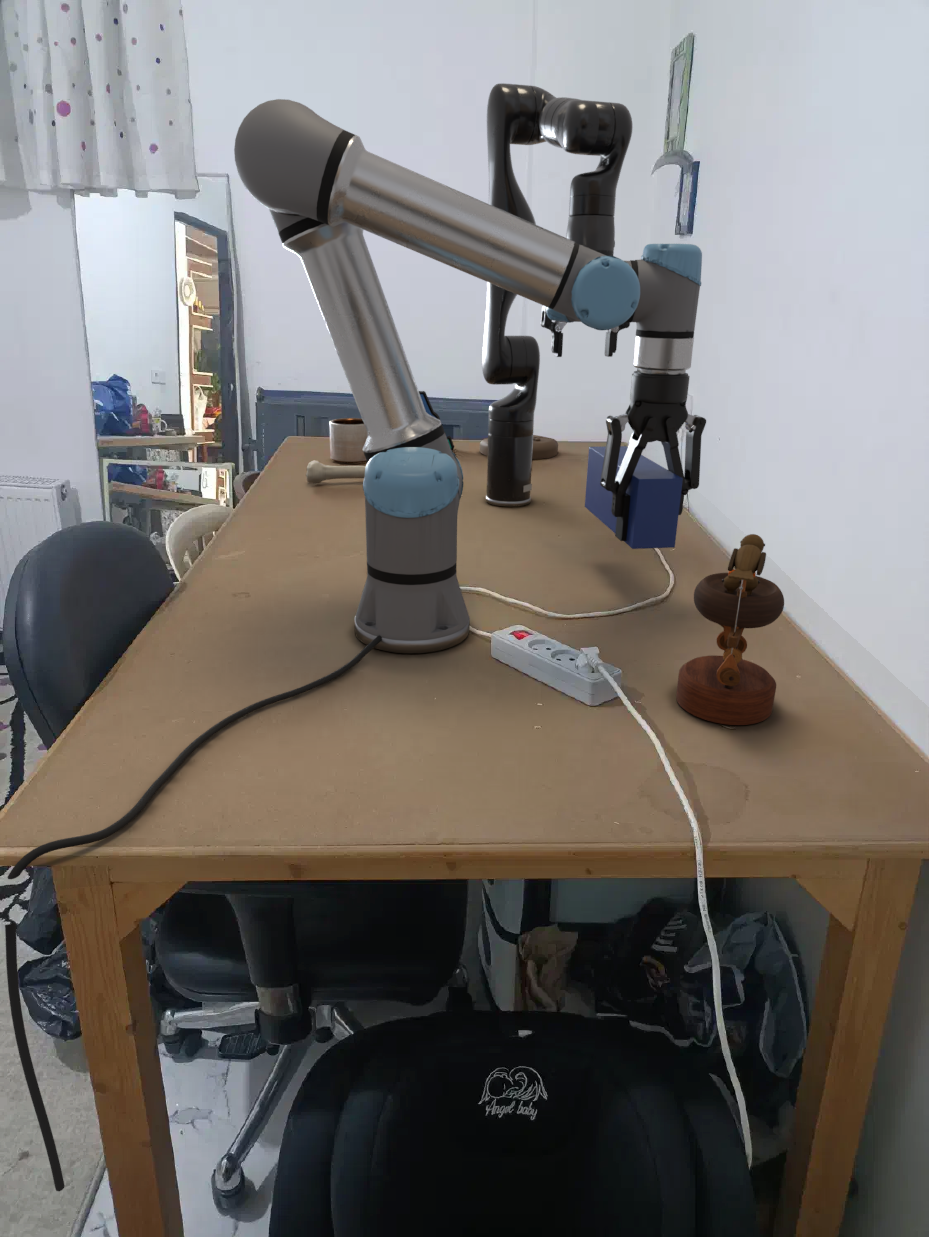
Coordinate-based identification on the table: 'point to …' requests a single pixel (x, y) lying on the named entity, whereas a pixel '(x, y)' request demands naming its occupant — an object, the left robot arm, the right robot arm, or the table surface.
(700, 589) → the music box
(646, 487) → the box
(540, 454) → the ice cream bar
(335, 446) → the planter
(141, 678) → the table surface
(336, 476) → the dog toy
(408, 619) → the left robot arm
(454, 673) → the table surface
